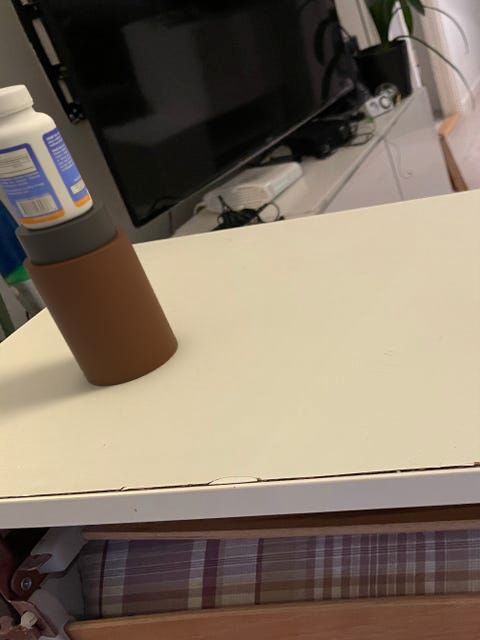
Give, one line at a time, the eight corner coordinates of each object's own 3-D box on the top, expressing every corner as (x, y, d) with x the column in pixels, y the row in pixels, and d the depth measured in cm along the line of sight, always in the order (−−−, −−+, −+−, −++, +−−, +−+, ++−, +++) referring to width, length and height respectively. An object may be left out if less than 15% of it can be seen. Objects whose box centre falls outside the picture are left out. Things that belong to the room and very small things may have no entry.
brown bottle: (66, 385, 66) (-17, 242, 59) (126, 336, 72) (57, 201, 66) (140, 386, 63) (62, 235, 56) (195, 334, 70) (131, 193, 63)
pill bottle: (74, 201, 64) (15, 82, 59) (107, 205, 61) (48, 79, 56) (11, 228, 61) (-57, 104, 56) (43, 234, 58) (-26, 103, 53)
